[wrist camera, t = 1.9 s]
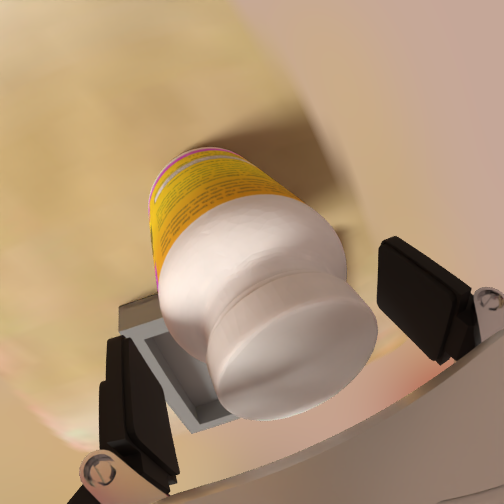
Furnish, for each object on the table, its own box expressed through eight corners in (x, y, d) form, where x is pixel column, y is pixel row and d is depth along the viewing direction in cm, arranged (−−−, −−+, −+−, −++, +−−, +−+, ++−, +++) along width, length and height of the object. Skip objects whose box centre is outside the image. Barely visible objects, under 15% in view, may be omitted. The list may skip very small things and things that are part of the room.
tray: (118, 306, 20) (118, 331, 18) (313, 239, 22) (331, 256, 20) (186, 412, 27) (191, 433, 25) (321, 361, 30) (333, 379, 28)
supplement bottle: (124, 190, 16) (111, 376, 6) (224, 122, 17) (382, 195, 6) (190, 271, 20) (255, 455, 10) (276, 212, 20) (415, 352, 10)
